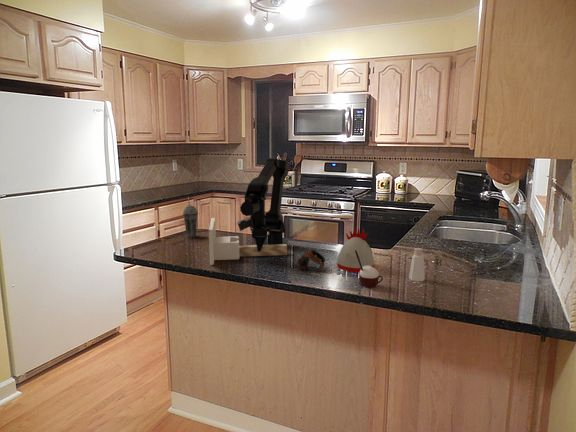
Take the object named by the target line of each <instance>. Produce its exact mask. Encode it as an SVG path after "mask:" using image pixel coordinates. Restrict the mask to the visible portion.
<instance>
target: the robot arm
mask: <svg viewBox="0 0 576 432" xmlns="http://www.w3.org/2000/svg"><path fill="white" fill-rule="evenodd" d="M290 168H291V163H290V162H289V161H288V160H286V159H279V158H276V157H269V158H267V159H266V163H265V164H264V166H263V168H262V169H261V171H260V173H259V174H258V176H257V177H255V178H253V179H251V181H249V184H248V185H247V188H246V191H245V193H244V202H242V203H241V204H240V207H239V210H240V212H241V213H242V215H243V216H245V217H247V218H243V219H241V220H239V221H237V226H238V228H239V230H240V231H244V230H245V229H247V228H249V229H250V232H251V233H250V234H251V238H252V239H254V240H255V245H257V250H258V252H259V251H261V249H262V246H263V245H265V242H266V243H267V245H273V244H284V243H283V242H284V241H283V239H284V237H283V234H285V233H286V232H287V226H286V223H285V222H284V216H283V214H282V212H281V207H282V198H283V191H284V190H283V188H284V182H285V179H286V178H287V176H288V175H289V170H290ZM271 178H273V181H272V188H271V189H272V190H271V198H270V204H269V205H270V206H269V210H268V211H267V212H266V203H265V202H266V200H267V198H266V196H267V193H268V191H269V182H270V180H271Z"/></svg>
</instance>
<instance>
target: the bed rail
mask: <svg viewBox="0 0 576 432" xmlns="http://www.w3.org/2000/svg"><path fill="white" fill-rule="evenodd" d="M287 255H288V245H287V243H283V244H273V245H268V244H263V246H262V249H261V251H259V252H258V250H257V245H256V244H247V245H245V244H244V245H243V244H242V245H240V244H239V258H240V257H261V256H263V257H264V256H265V257H267V256H287Z"/></svg>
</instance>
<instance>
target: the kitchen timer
mask: <svg viewBox="0 0 576 432" xmlns="http://www.w3.org/2000/svg"><path fill="white" fill-rule="evenodd" d="M349 234H350V235H348V233H345V236H346V238H347V240H346V241H345V242H344V243H343V245H342V247H341V248H340V250H339V253H338V257H337V261H336V263H337V264H336V266H337V268H338V269H339V270H341V271H346V272H350V273H351V272H352V273H360V270H361V267H360V265H359V262H358V259H357V256H356V253H355V250H356V251H357V253H358V256H359V259H360V262H361V265H362V267H363V266H371V267H373V268H375V260H374V255H373V252H372V248H371V247H370V245H369V244H368V242H367V241H366V238H367V236H368V235H369V232H367V233H365V229H362V231H361V232H360V228H358V229H357V231H356V228H353V232H352V231H351V230H349Z"/></svg>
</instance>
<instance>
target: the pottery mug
mask: <svg viewBox="0 0 576 432" xmlns="http://www.w3.org/2000/svg"><path fill="white" fill-rule="evenodd" d="M310 261H312V262H313V263H316V264H318V265H319V268H318V272H322V270H323V269H325V262H326V259H325V257H324V256H323V255H322V254H321V253H319V252H318V251H316V250H314V249H309V250H308V251H307V252H304V253H303V254H302V255H301V256H300V257H299V258H298V260H297V270H298V271H301V270H302V271H306V268H307V266H308V264H309V263H310Z"/></svg>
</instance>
